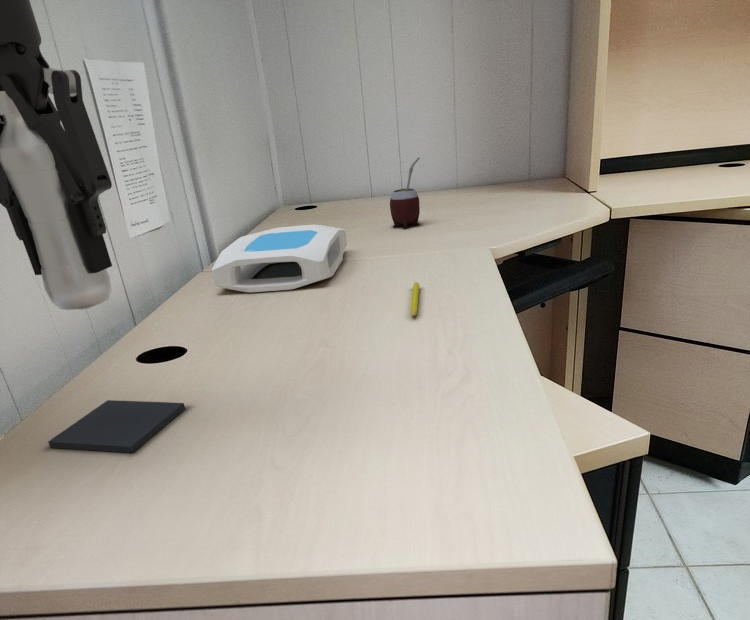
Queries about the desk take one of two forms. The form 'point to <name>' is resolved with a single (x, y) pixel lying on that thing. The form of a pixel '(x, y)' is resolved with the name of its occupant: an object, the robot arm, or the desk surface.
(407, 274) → the desk surface
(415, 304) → the pencil
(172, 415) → the coaster
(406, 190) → the mate gourd
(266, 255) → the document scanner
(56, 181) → the plastic bottle
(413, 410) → the desk surface
